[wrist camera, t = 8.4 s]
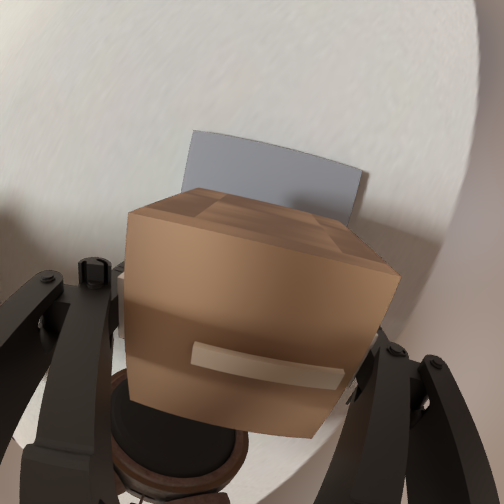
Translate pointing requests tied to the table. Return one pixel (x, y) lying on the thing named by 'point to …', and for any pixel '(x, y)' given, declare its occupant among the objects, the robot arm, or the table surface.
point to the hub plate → (271, 175)
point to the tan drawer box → (247, 311)
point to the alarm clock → (170, 452)
